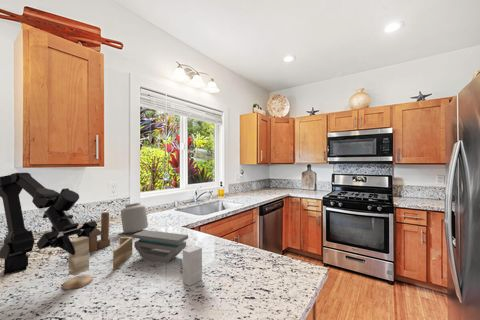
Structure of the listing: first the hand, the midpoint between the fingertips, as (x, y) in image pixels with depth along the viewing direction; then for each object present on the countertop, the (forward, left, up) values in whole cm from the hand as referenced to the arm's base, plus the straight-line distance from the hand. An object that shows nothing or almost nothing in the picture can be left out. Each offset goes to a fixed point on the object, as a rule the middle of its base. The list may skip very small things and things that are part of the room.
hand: (81, 251), depth 80 cm
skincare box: (+30, -27, -12) cm, 42 cm away
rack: (+15, +11, -12) cm, 22 cm away
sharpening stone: (+30, +1, -12) cm, 33 cm away
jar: (+35, +53, -12) cm, 65 cm away
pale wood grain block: (0, +1, -8) cm, 8 cm away
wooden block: (+12, +35, -12) cm, 39 cm away
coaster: (-1, +1, -12) cm, 12 cm away
